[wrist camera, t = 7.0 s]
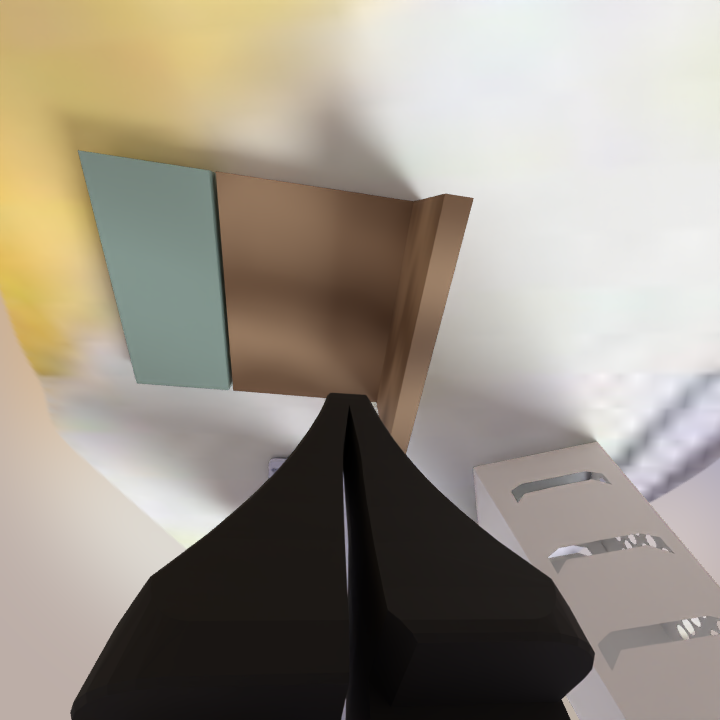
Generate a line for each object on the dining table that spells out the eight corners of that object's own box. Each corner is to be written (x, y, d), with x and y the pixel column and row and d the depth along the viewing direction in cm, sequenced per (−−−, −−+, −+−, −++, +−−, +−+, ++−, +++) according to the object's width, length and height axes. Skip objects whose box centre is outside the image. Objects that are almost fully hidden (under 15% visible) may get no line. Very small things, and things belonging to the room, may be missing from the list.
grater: (597, 441, 24) (1335, 1098, 6) (583, 518, 29) (979, 1018, 11) (472, 467, 25) (806, 1123, 7) (479, 538, 29) (687, 1038, 11)
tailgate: (228, 390, 18) (136, 383, 18) (235, 379, 20) (149, 373, 19) (208, 170, 13) (77, 150, 13) (219, 174, 14) (100, 156, 14)
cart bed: (388, 391, 21) (404, 458, 15) (240, 378, 20) (197, 445, 14) (425, 205, 15) (473, 198, 10) (227, 175, 14) (148, 147, 9)
